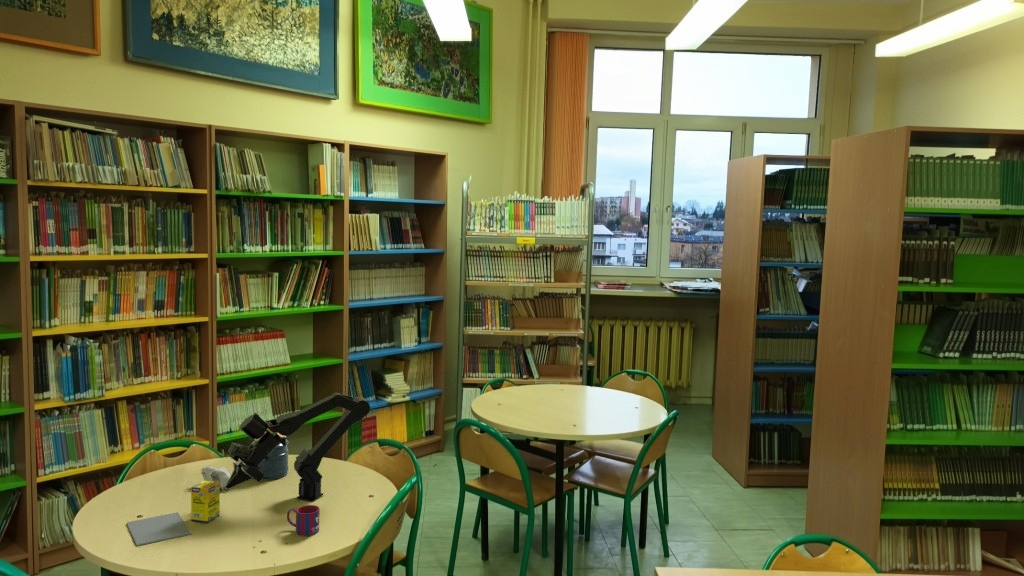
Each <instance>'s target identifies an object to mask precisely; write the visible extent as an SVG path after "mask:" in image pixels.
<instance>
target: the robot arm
mask: <svg viewBox="0 0 1024 576" xmlns="http://www.w3.org/2000/svg"><path fill="white" fill-rule="evenodd" d="M337 407H339V408H342V409H344V411H343V413H342V415H341V417H339V419H338V420H337V421H336V422H335V423H334V424H333V425H332V427H330V429H329V430H328V431H326V433H325V434H324V435H323V437H321V438H320V440H318V442H317V443H316V444H315V445H314V447H312V448H310V449H309V450H306V448H303V449H302V451H301V452H300V454H298V455H297V456H295V461H294V463H293V468H294V470H295V472H296V474H297V476H299V477H300V479H299V483H298V496H297V497H296V499H297V500H303V501H309V502H314V501H316V500H317V499H319V498H321V497H323V496H324V495H323V494H324V493H323V492H322V479H323V475H322V474H321V473H320V471H319V470H318V469H319V468H320V465H321V462H322V460H323V458H324V456H326V454H328V452H329V451H330V450H331V449H332V447H334V445H335V444H336V443H337V442H339V440H340V439H341V438H342V436H343V435H344V434H346V432H347V431H348V430H349V429H350V427H352V426H353V425H354V424H356V423H358V422H360V421H362V420H363V419H364V418H365V417H366V416H367V415H368V414H369V413H370V411H371V405H370V403H369V402H368V401H367V400H366V399H364V398H363V397H361V396H354V397H353V396H351V395H350V396H349V395H346V394H341V393H339V392H333V393H331V395H328V396H326V397H324V398H323V399H321V400H318V401H316V402H314V403H312V404H310V405H308V406H306V407H304V408H302V409H300V410H296V411H290V412H287V413H283V414H280V415H279V416H277V417H276V418H272V419H269V420H264V419H263V418H262V417H261V416H260V415H259V414H258V413H257V412H254V413H253V414H252V415H249V416H248V417H247V418H245V419H244V420H243V421H241V424H240V425H239V430H240V431H241V432H243V433H244V434H245V435H246V436H248V437H249V438H250V439H251V440H253V441H255V440H254V439H259V438H260V439H259V440H258V441H257V442H256V443H255V444H254V445H253V444H251V443H250V444H249V445H248V446H247V445H244V444H240V443H238V442H237V443H236V442H231V443H230V445H229V448H228V451H227V453H229V458H230V459H232V460H233V462H232V465H233V471H232V473H231V477H230V479H229V480H228V482H227V484H226V486H225V487H226V488H227V490H230V489H231V488H234V487H237V486H238V485H240V484H243V483H245V482H247V481H249V480H253V479H254V480H255V481H256V482H258V483H261V482H262V481H263V480H262V479H263V478H264V474H263V473H262V472H261V471H260V470H259V469H260V468H259V467H258V466H259V465H260V464H261V463H262V462H263V461H264V460H265V459H266V460H268V459H269V457H267V456H268V455H269V453H271V452H272V451H273V450H274V449H275V448H276V446H277V445H278V444H279V443H281V444H282V445H283V446H286V439H287V436H288V437H289V436H291V435H293V434H294V433H295V432H297V431H298V430H300V429H301V428H302V427H303V425H304V424H306V423H307V422H310V421H311V420H313V419H315V418H317V417H320V416H321V415H323V414H326V413H328V412H330V411H331V410H333V409H336V408H337ZM267 429H269V430H270V431H272V432H273V433H270V432H269V431H268V430H267ZM264 433H265V434H264ZM277 433H279V434H281V435H283V436H286V437H281V436H279V435H278V434H277ZM257 443H258V444H259V445H258V444H257ZM234 461H235V462H234ZM322 495H323V496H322ZM320 496H321V497H320Z"/></svg>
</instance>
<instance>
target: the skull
mask: <svg viewBox="0 0 1024 576" xmlns="http://www.w3.org/2000/svg"><path fill="white" fill-rule="evenodd" d="M200 473H201V475H202V478H203V481H211V482H219V483H220V489H221V491H224V489H225V490H227V491H228V489H227V488H226V487H225V486H226V484H227V482H228V480H229V479H230V477H231V475H232V473H230V472H229V471H228V469H227V467H223V466H222V467H214V466H212V465H207V466H205V467H202V468H201V472H200Z"/></svg>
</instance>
